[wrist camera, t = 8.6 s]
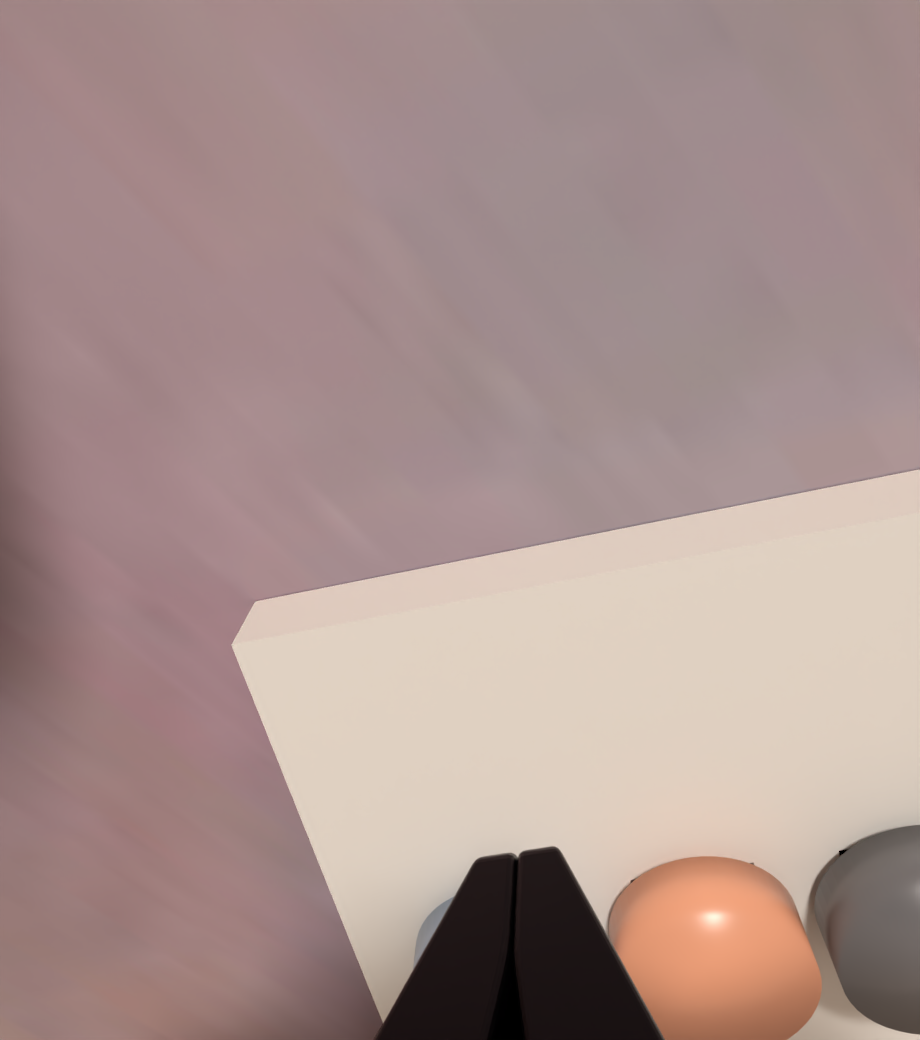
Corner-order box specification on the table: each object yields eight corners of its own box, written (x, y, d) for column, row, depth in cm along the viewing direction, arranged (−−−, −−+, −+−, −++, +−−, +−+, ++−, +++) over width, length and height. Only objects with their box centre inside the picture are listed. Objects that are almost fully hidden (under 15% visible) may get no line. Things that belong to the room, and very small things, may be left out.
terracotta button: (767, 791, 22) (812, 904, 19) (786, 922, 24) (830, 1047, 21) (587, 818, 23) (600, 933, 20) (617, 944, 25) (634, 1069, 21)
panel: (1040, 445, 19) (1096, 478, 17) (1034, 1063, 26) (1073, 1131, 25) (255, 601, 21) (231, 645, 20) (454, 1124, 29) (450, 1190, 27)
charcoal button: (975, 759, 22) (1060, 871, 18) (979, 896, 23) (1056, 1022, 20) (783, 788, 22) (831, 902, 19) (800, 920, 24) (847, 1045, 21)
